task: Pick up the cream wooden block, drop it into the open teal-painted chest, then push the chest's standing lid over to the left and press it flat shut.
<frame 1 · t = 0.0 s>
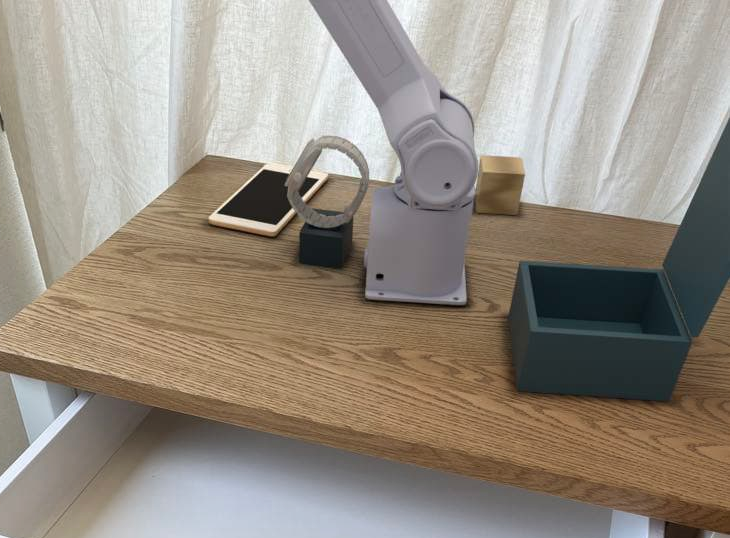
block: (495, 205, 93), on the table
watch: (325, 254, 84), on the table
chest: (583, 357, 72), on the table
lid: (716, 221, 63), point 13 cm above the table, hinge at 96.0°
cell phone: (271, 202, 92), on the table
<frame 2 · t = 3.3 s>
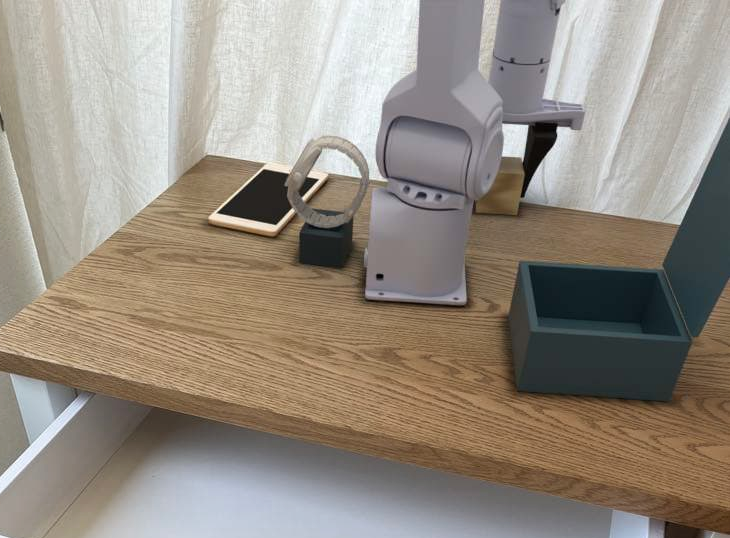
hand: (497, 192, 92), 1 cm above the table, tool pointing down, fingers closed on block, 4 cm apart
block: (495, 205, 93), on the table, touching gripper
everything else where it was.
when the fingers open (4 cm above the table, at t = 8.9 s): block drops 2 cm, resting on chest.
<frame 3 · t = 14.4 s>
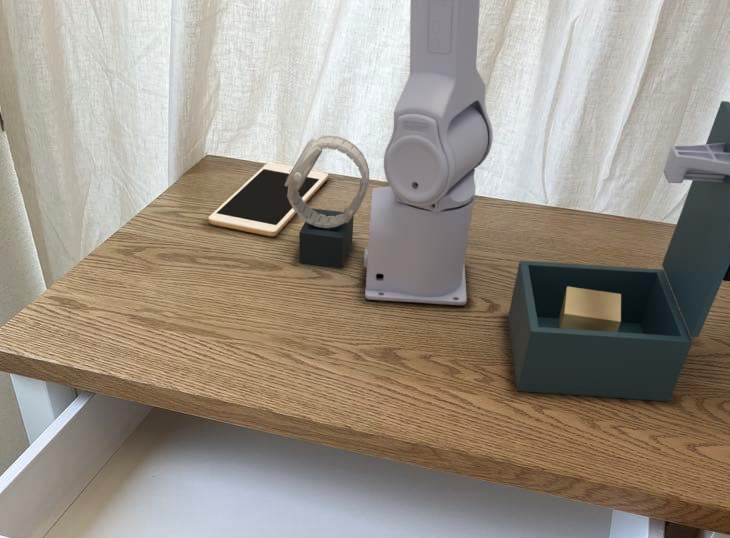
hand: (728, 275, 65), 8 cm above the table, tool pointing down, fingers closed
block: (579, 349, 71), point 1 cm above the table, touching chest
lid: (709, 220, 63), point 13 cm above the table, hinge at 91.2°, touching gripper
everything else where it was.
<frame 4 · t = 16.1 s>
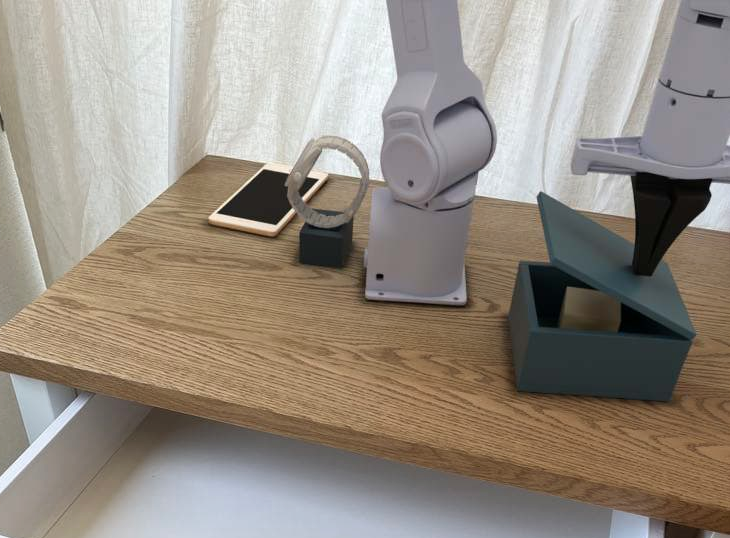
hand: (641, 269, 66), 8 cm above the table, tool pointing down, fingers closed
lid: (613, 263, 66), point 9 cm above the table, hinge at 24.6°, touching gripper
everything else where it was.
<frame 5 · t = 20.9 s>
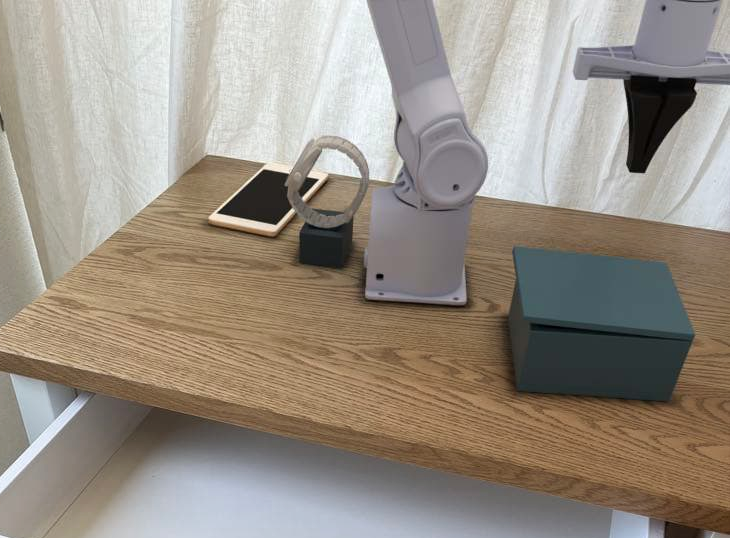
hand: (635, 168, 75), 10 cm above the table, tool pointing down, fingers closed
lid: (598, 290, 67), point 6 cm above the table, hinge at 2.8°
everything else where it was.
at the end: block inside the target area in the chest (0.5 cm from its centre), point 0.7 cm above the chest's base; lid at +3° (first picture: +96°) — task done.
